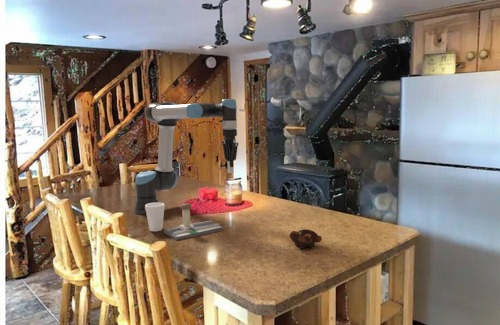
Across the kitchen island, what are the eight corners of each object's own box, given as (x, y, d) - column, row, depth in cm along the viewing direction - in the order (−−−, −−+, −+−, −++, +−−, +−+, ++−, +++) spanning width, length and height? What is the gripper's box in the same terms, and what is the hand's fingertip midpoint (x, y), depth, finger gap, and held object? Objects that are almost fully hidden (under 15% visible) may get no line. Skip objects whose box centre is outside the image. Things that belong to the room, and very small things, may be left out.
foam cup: (146, 233, 202) (145, 207, 200) (146, 227, 211) (144, 203, 209) (166, 231, 205) (164, 206, 203) (164, 226, 213) (163, 201, 212)
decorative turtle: (284, 246, 180) (285, 228, 180) (313, 243, 186) (314, 226, 186) (295, 252, 171) (296, 233, 171) (325, 249, 178) (326, 230, 177)
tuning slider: (179, 229, 202) (178, 204, 200) (188, 227, 205) (187, 202, 203) (189, 234, 193) (188, 208, 191) (199, 232, 196) (198, 206, 194)
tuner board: (164, 233, 202) (163, 227, 201) (210, 223, 217) (209, 218, 216) (176, 240, 190) (175, 234, 190) (223, 229, 205) (223, 224, 205)
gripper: (217, 128, 217) (218, 172, 220) (230, 129, 207) (231, 175, 210) (229, 127, 221) (230, 170, 225) (242, 128, 211) (243, 173, 214)
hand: (230, 172), depth 217 cm, fingers closed
